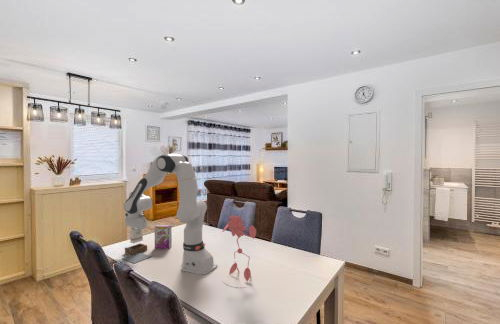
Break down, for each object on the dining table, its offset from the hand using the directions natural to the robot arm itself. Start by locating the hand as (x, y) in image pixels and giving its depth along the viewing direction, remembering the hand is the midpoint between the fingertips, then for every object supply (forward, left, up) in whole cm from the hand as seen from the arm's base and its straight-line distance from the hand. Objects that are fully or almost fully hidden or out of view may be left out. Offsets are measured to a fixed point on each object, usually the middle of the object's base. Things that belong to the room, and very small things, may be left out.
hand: (136, 233), depth 166 cm
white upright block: (0, 0, -6) cm, 6 cm away
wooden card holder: (0, 0, -13) cm, 13 cm away
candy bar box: (-10, -15, -13) cm, 22 cm away
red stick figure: (-83, -5, -13) cm, 84 cm away
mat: (-10, +6, -13) cm, 17 cm away
